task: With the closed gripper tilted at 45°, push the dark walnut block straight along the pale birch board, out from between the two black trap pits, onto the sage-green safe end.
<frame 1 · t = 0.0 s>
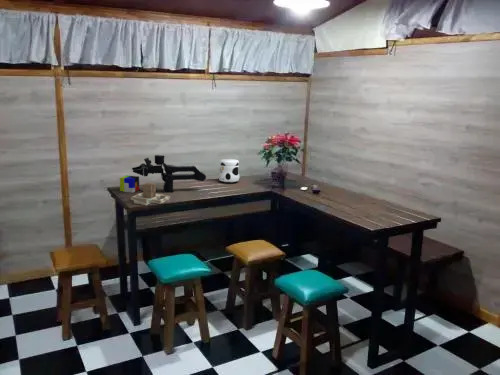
hand: (132, 169, 308), 17 cm above the table, tool horizontal, fingers open, 9 cm apart
puzzle toy: (129, 190, 317), on the table
walnut block: (149, 197, 293), point 2 cm above the table, touching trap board
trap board: (150, 199, 295), on the table
milk container: (228, 182, 360), on the table
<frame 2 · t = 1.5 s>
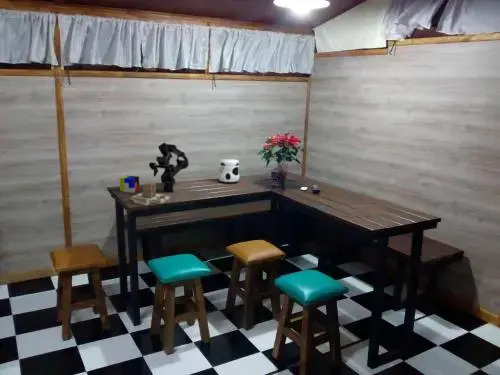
hand: (158, 176, 302), 14 cm above the table, tool tilted 45°, fingers open, 6 cm apart
nothing on the table moved.
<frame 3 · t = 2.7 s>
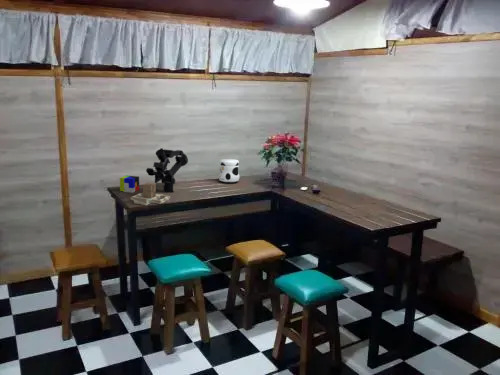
hand: (155, 182, 299), 10 cm above the table, tool tilted 45°, fingers closed
nothing on the table moved.
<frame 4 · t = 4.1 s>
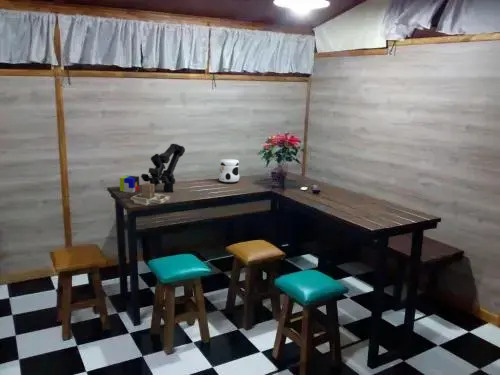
hand: (150, 188, 294), 7 cm above the table, tool tilted 45°, fingers closed, pressing on walnut block
walnut block: (148, 197, 292), point 2 cm above the table, touching gripper
everything else where it was.
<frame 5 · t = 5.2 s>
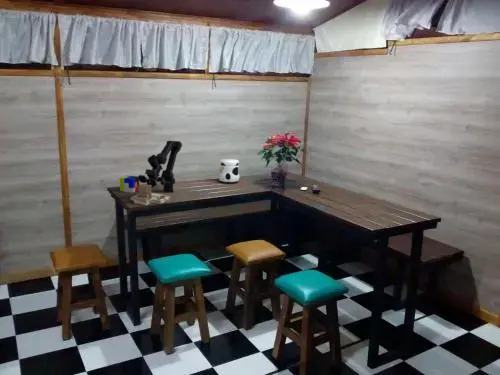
hand: (147, 190, 290), 7 cm above the table, tool tilted 45°, fingers closed, pressing on walnut block
walnut block: (145, 199, 288), point 2 cm above the table, touching gripper, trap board
everything else where it was.
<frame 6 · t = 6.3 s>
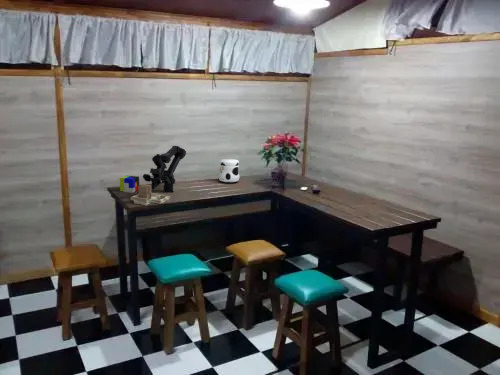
hand: (152, 189, 296), 7 cm above the table, tool tilted 45°, fingers closed
walnut block: (145, 199, 288), point 2 cm above the table, touching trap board
everything else where it was.
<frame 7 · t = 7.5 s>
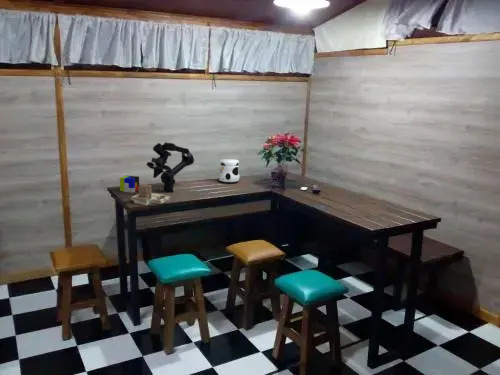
hand: (154, 177, 304), 12 cm above the table, tool tilted 35°, fingers closed
nothing on the table moved.
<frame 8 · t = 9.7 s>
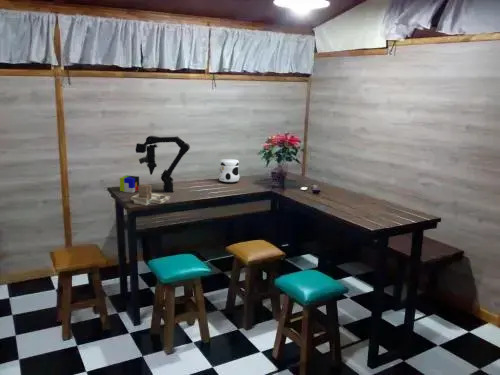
hand: (151, 174, 317), 12 cm above the table, tool pointing down, fingers closed
nothing on the table moved.
at the end: walnut block 1.0 cm from the target spot on the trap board, point 2.0 cm above the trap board's base; walnut block tilted 0° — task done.
